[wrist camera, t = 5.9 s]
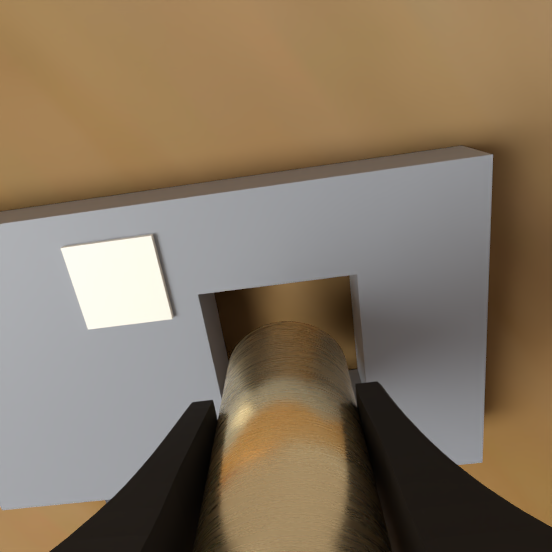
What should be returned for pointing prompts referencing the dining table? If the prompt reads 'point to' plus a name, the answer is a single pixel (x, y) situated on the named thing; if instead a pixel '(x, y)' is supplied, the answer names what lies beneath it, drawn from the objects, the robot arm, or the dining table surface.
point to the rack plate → (204, 314)
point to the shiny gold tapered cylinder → (290, 452)
